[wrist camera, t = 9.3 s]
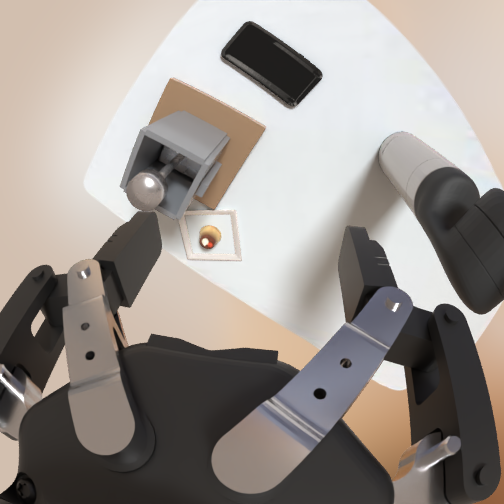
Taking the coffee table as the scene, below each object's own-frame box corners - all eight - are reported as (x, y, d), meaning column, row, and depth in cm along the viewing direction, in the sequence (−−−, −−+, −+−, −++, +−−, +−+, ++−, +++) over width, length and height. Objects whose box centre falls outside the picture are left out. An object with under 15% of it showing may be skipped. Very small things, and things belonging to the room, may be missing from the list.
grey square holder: (266, 126, 45) (256, 153, 32) (216, 206, 55) (193, 255, 42) (173, 77, 41) (127, 86, 28) (136, 162, 51) (91, 198, 38)
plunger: (218, 142, 43) (183, 183, 30) (197, 179, 47) (160, 233, 34) (177, 120, 41) (125, 151, 28) (159, 158, 46) (108, 204, 32)
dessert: (242, 257, 62) (239, 272, 58) (189, 256, 64) (182, 270, 60) (237, 206, 55) (232, 219, 51) (178, 208, 57) (169, 220, 53)
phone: (293, 108, 42) (218, 54, 37) (293, 107, 42) (219, 54, 38) (325, 74, 37) (248, 18, 33) (325, 74, 38) (249, 19, 34)
